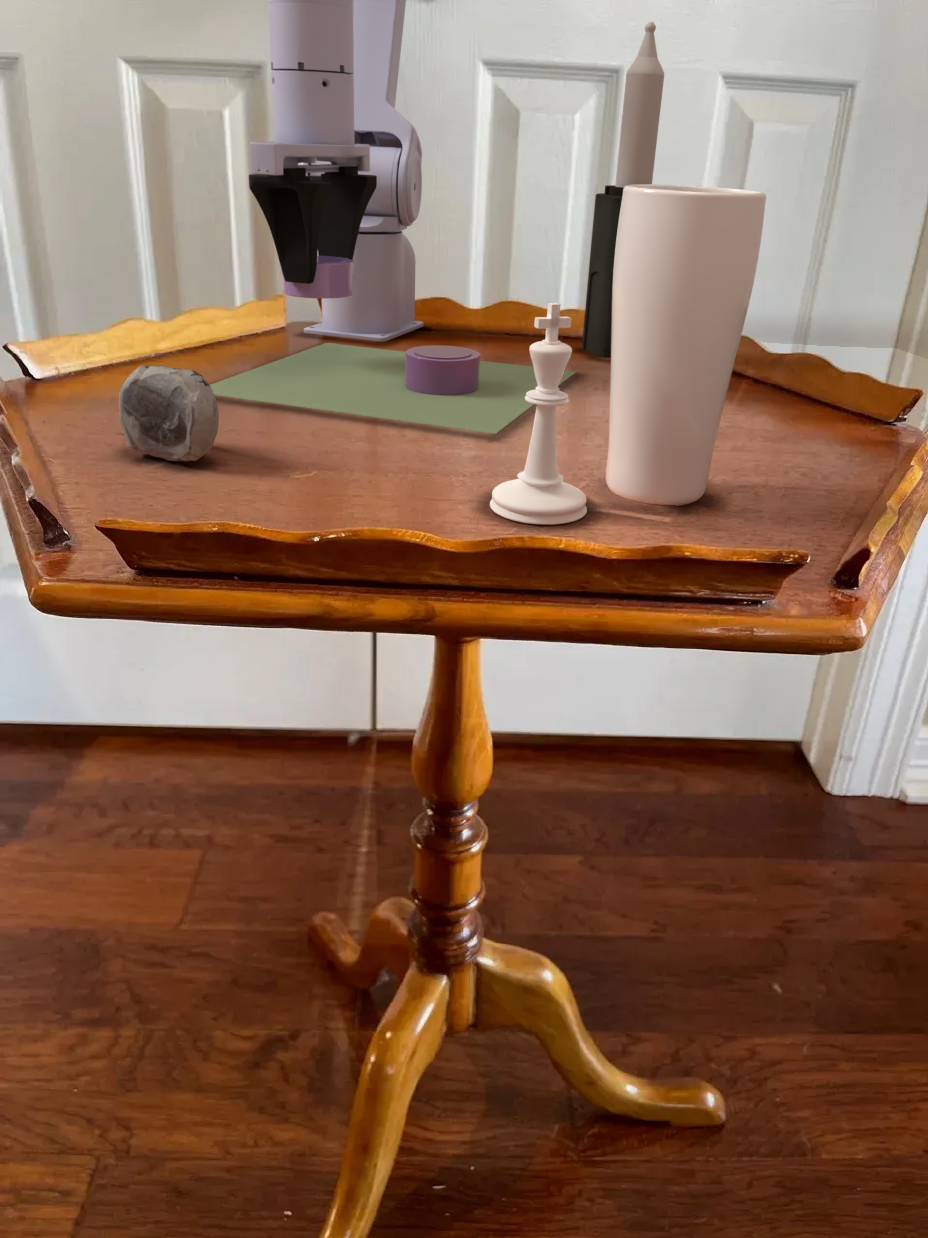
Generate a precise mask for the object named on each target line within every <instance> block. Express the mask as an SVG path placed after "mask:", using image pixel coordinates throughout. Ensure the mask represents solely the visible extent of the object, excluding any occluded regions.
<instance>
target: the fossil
mask: <svg viewBox="0 0 928 1238" xmlns="http://www.w3.org/2000/svg"><path fill="white" fill-rule="evenodd" d="M119 390H120V391H119V393H118V418H119V423H120V427H121V429H122V432H123V434H124V437H125V439H126V442H127V445H128V446H129V447H130V448H131V449H132V450H135V451H139V452H143V453H145V454H148V455H149V456H152V457H154V458H160V459H163V460H165V461H171V462H190V461H193V462H195V461H198V460H199V459H201V458H202V457H203V456H204V455H206V453H207V452H208V451H209V450H210V449H211V448H212V446H213V445H214V443H215V441H216V437H217V435H218V432H219V431H218V430H219V421H220V420H219V419H220V418H219V417H220V411H219V405H218V402H217V399H216V395H214V393H213V391H212V389H211V387H210V383H209V381H208V380H207V379H206V378H205V377H204V376H203V375H202V374H200V373H199V372H197V371H195V370H193V369H190V368H188V369H187V368H175V367H170V366H167V365H145V364H144V365H140V366H138V367H137V368H135V369H134V370H133V371H131V373H130V374H129V376H128V377H127V378H126V380H125V381H124V382H123V384H122V385H121V388H120V389H119Z"/></svg>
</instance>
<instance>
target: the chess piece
mask: <svg viewBox="0 0 928 1238" xmlns="http://www.w3.org/2000/svg"><path fill="white" fill-rule="evenodd" d="M533 325H534V326H533V327H534V328H536V329H537V330H538V329H539V330H540V329H545V336H544V338H545V339H542V340H540V341H535V342H533V343H532V344H531V345H529V349H528V351H529V356H530V360H531V363H532V367H534V373H535V377H536V381H537V384H538V386H537V387H536V389H535V390H530V391H528V392H527V393H526V396H525V400H526V401H527V402H529V403H532V404H534V405H536V406H535V413H534V419H533V426H532V430H531V437H530V441H529V445H528V451H527V456H526V461H525V464H524V468H523V470H521V471H520V472H518V473H517V475H516V477H517V478H515V479H510V480H506V481H504V482H502V483H500V484H498V485H496V486H495V487H494V488H493V489H492V492H491V499H490V501H489V507H490V509H491V511H493V512H494V513H495V514H496V515H498V516H500V517H502V518H504V519H507V520H510V521H513V522H518V523H522V524H529V525H539V526H540V525H541V526H542V525H543V526H552V525H553V526H555V525H562V524H569V523H573V522H576V521H579V520H581V519H582V518H584V516H586V515H587V513H588V507H587V505H586V504H587V496H586V494H585V493H584V491H582V490H581V489H580V488H578V487H576V486H574V485H572V484H570V483H568V482H565V481H564V480H565V478H564V477H565V476H563V475H562V473H560V472H559V467H558V451H557V414H556V413H557V410H556V409H557V407H559V406H564V405H566V404H568V403H569V401H570V399H569V398H568V397H569V395H568V394H567V392H564V391H561V390H560V388H559V386H560V385H559V383H560V381H561V378H562V376H563V373H564V370H565V369H566V367H567V365H568V363H569V361H570V359H571V356H572V353H573V348H572V347H571V346H570V345H569V344H568V343H564V342H562V341H561V340H560V339H559V329H568V328H569V329H570V328H571V327H572V317H569V316H561V304H560V303H558V302H548V303H547V310H546V316H537V317H536V316H535V317H534V324H533ZM558 339H559V340H558ZM565 371H566V370H565ZM558 385H559V386H558Z"/></svg>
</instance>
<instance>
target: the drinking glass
mask: <svg viewBox="0 0 928 1238" xmlns="http://www.w3.org/2000/svg"><path fill="white" fill-rule="evenodd" d="M766 201H767V194H766V193H765V192H763V191H759V190H750V189H743V188H741V189H740V188H731V187H729V188H728V187H715V186H702V185H701V186H700V185H684V184H683V185H681V184H654V183H652V184H632V185H626V186H625V187H624V189H623V196H622V202H621V209H620V215H619V222H618V229H617V237H616V247H615V257H614V269H613V287H612V327H611V358H610V377H609V379H610V381H609V382H610V385H609V413H608V419H609V420H608V444H607V445H608V446H607V455H606V456H607V457H606V467H605V477H604V478H605V483H606V486H607V488H608V489H609V491H611V493H612V494H614V495H616V496H618V497H621V498H623V499H625V500H630V501H633V502H637V503H641V504H642V503H643V504H648V505H656V506H658V505H659V506H676V507H680V506H686V505H689V504H692V503H695V502H697V501H699V500H700V499H701V498H702V497H703V496H704V494H705V492H706V491H707V487H708V482H709V477H710V469H711V464H712V463H711V462H712V457H713V452H714V448H715V444H716V441H717V437H718V436H717V435H718V432H719V427H720V423H721V419H722V415H723V411H724V406H725V403H726V399H727V395H728V392H729V391H728V390H729V386H730V383H731V379H732V376H733V370H734V366H735V362H736V358H737V355H738V350H739V346H740V342H741V340H742V339H741V338H742V335H743V331H744V326H745V323H746V318H747V315H748V314H747V313H748V311H749V310H748V309H749V305H750V302H751V297H752V293H753V289H754V285H755V278H756V274H757V268H758V263H759V256H760V249H761V244H762V243H761V242H762V235H763V227H764V219H765V211H766V203H767V202H766Z"/></svg>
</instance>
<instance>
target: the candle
mask: <svg viewBox="0 0 928 1238" xmlns="http://www.w3.org/2000/svg"><path fill="white" fill-rule="evenodd" d="M656 28H657V25H656V24H655V22H654V21H648V22H647V23H646V24H644V31H645V32H644V36H643V38H642V41H641V44H640V46H639V49H638V53H637V55H636V58H635V59H634V60H633V62H632V63H631V65H630V66H629V68H628V70H627V71H626V75H625V85H624V95H623V103H622V104H623V105H622V114H621V126H620V136H619V145H618V153H617V154H618V155H617V156H618V157H617V165H616V174H615V175H616V177H615V185H613V184H612V185H611V184H609V185H604V191H603V193H596V194H595V199H594V210H593V221H592V232H591V240H590V241H591V242H590V253H589V265H588V277H587V286H586V297H585V308H584V317H583V319H584V320H583V330H582V341H581V342H582V343H581V349H582V350H585V351H588V352H590V353H592V354H594V355H595V356H596V357H599V358H604V359H605V358H606V359H611V327H612V287H613V269H614V257H615V247H616V237H617V229H618V222H619V215H620V209H621V202H622V196H623V189H624V187H625V186H626V185H632V184H653V179H654V170H655V162H656V161H655V160H656V153H657V142H658V135H659V134H658V133H659V124H660V118H661V117H660V116H661V107H662V99H663V89H664V81H665V71H664V68H663V67H662V64H661V62H660V61H659V58H658V57H659V56H658V51H657V45H656V37H655V31H656Z"/></svg>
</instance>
